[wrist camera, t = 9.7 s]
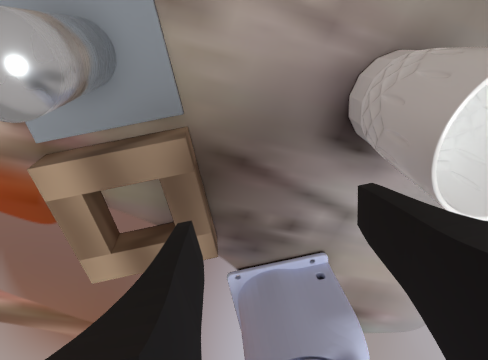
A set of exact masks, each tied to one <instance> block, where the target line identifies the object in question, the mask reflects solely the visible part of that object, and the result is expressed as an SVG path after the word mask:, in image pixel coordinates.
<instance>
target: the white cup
mask: <svg viewBox="0 0 488 360" xmlns="http://www.w3.org/2000/svg"><path fill="white" fill-rule="evenodd" d="M349 119H350V121H351V123H352V125H353V128H354V130H355V132H356V133H357V134H358V135H359V136H360V137H362V138H363V139H364V140H365V141H367V142H368V143H369V144H370V145H371V146H372V147H373V148H374V149H375V150H376V152H377V153H379V154H380V155H381V156H382V157H383V158H384V159H385V160H387V161H388V162H389V163H390V164H391V165H392V166H393V167H394V168H396V169H397V170H398V171H399V172H400V173H401V174H403V175H404V176H405V177H406V178H408V179H409V180H410V181H411V182H413V183H414V184H415V185H416V186H418V187H419V188H420V189H421V190H423V191H424V192H425V193H426V194H427V195H429V196H430V197H431V198H432V199H434V200H435V201H436V202H437V203H438V204H440V205H441V206H442V207H443V208H444V209H446V210H447V211H450V212H454V213H457V214H460V215H464V216H468V217H472V218H475V219H479V220H483V221H488V47H458V48H432V49H425V50H397V51H394V52H392V53H389V54H387V55H384V56H381V57H379V58H377V59H376V60H375V61H374V62H372V63H371V64H370V65H369V66H368V67H367V68H366V69H365V70H364V71H363V72H362V73H361V74H360V75H359V77H358V79H357V81H356V83H355V85H354V87H353V90H352V92H351V94H350V96H349Z"/></svg>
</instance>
